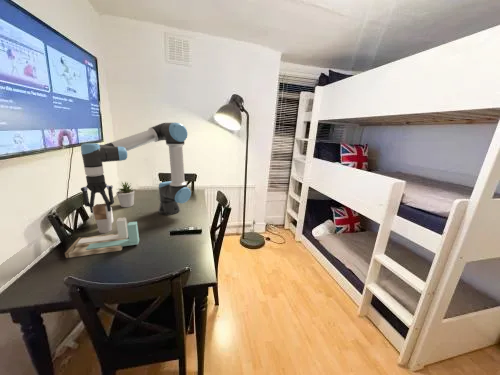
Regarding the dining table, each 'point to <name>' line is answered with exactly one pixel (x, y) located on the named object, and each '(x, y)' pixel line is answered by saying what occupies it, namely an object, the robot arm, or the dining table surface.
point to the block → (100, 211)
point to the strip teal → (132, 240)
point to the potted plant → (126, 196)
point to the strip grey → (121, 235)
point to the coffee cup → (104, 224)
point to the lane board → (81, 249)
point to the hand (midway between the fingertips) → (102, 217)
